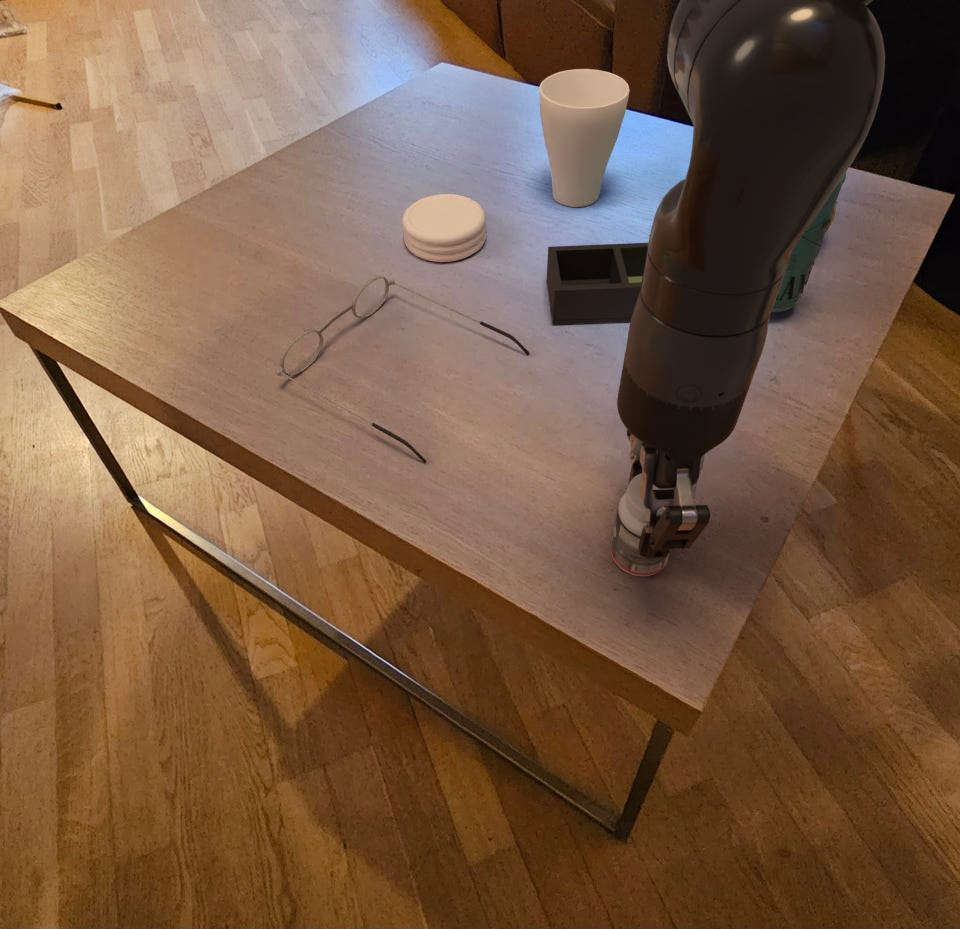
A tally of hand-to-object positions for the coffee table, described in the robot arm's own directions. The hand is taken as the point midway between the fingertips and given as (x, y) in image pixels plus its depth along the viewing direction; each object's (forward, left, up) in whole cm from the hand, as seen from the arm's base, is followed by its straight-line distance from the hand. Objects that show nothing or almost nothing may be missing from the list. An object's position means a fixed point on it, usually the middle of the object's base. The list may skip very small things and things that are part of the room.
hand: (646, 522), depth 56 cm
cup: (-1, -55, -5) cm, 55 cm away
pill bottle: (0, 0, -5) cm, 5 cm away
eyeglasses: (+20, -23, -5) cm, 31 cm away
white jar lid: (+16, -46, -5) cm, 49 cm away
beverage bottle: (-19, -31, -5) cm, 37 cm away
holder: (-3, -33, -4) cm, 33 cm away
